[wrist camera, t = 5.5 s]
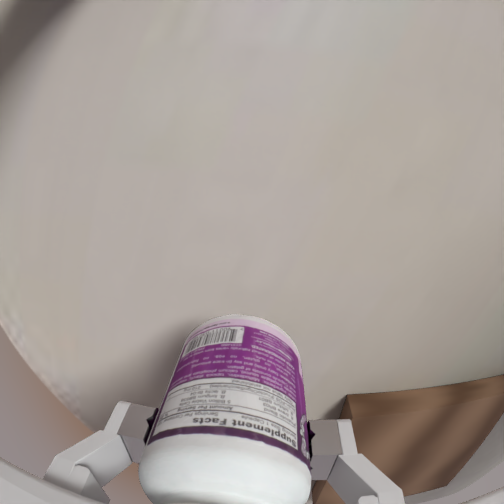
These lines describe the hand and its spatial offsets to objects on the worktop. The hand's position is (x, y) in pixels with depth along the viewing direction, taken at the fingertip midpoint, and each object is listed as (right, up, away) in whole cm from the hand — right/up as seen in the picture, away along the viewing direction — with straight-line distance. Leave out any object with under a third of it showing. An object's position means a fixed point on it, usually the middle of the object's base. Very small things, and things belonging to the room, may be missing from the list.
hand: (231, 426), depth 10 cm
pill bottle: (0, +1, +4) cm, 4 cm away
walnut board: (+13, -10, +10) cm, 19 cm away
